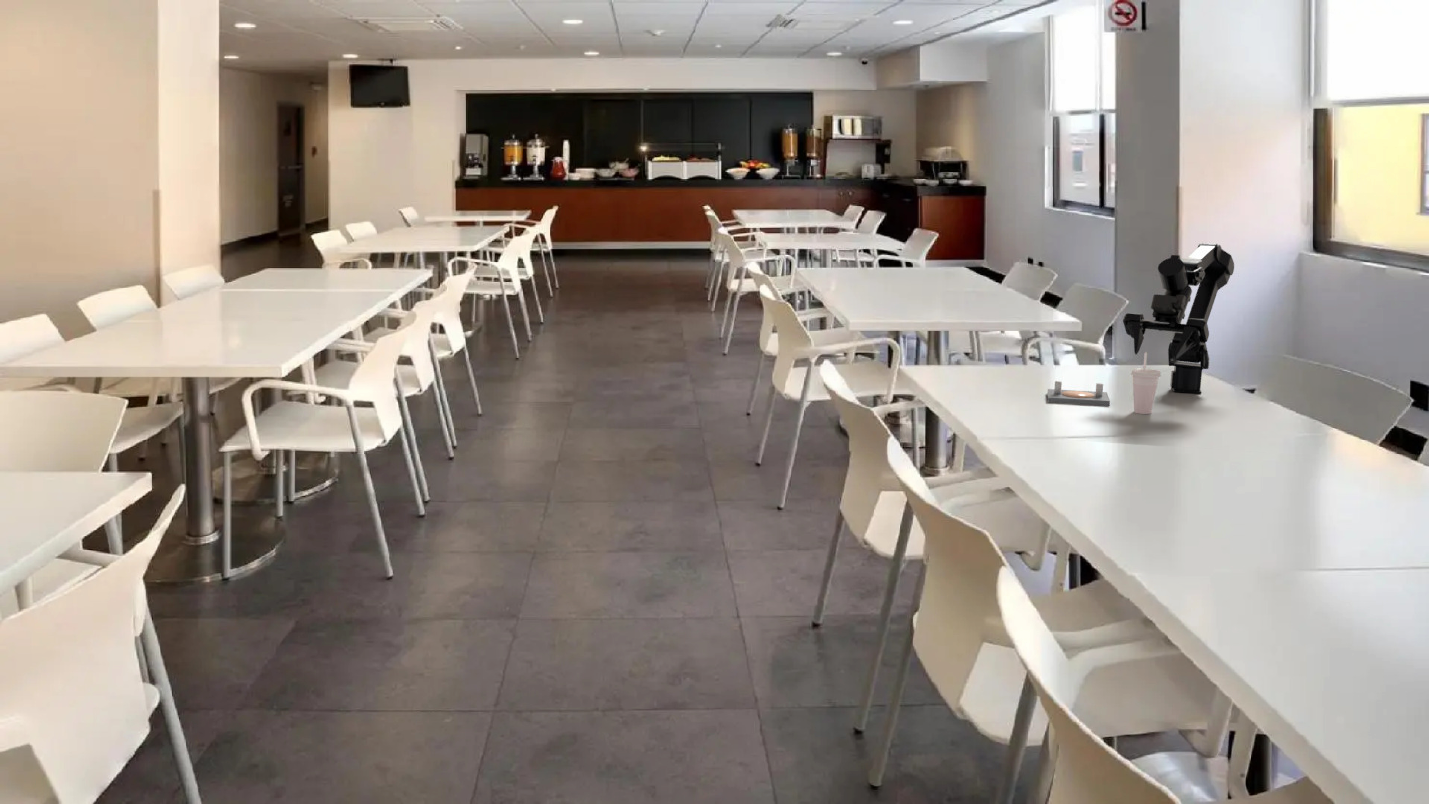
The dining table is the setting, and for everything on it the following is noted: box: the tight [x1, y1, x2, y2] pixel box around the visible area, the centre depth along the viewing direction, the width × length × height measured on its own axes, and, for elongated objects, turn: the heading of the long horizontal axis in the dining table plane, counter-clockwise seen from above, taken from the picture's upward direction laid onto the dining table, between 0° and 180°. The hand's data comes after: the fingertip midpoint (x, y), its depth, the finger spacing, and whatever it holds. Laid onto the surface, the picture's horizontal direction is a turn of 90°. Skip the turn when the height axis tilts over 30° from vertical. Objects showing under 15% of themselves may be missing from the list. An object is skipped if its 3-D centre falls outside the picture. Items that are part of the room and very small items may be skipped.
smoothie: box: [1130, 351, 1162, 415], centre depth 280 cm, size 6×6×14 cm
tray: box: [1046, 380, 1111, 407], centre depth 294 cm, size 14×11×4 cm
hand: (1155, 355), depth 284 cm, fingers open, 9 cm apart
